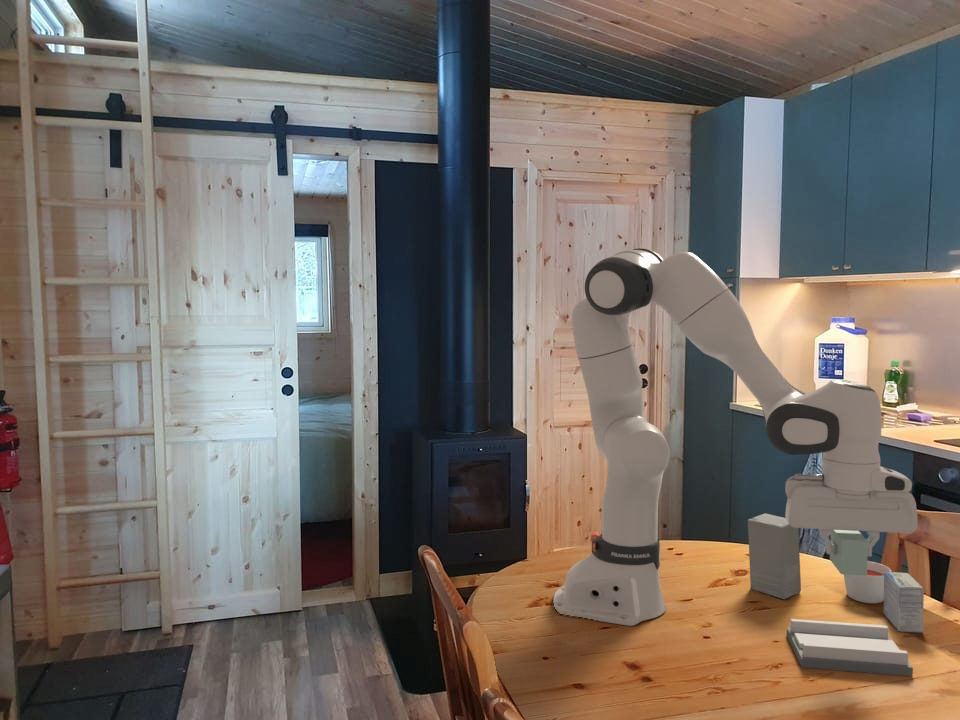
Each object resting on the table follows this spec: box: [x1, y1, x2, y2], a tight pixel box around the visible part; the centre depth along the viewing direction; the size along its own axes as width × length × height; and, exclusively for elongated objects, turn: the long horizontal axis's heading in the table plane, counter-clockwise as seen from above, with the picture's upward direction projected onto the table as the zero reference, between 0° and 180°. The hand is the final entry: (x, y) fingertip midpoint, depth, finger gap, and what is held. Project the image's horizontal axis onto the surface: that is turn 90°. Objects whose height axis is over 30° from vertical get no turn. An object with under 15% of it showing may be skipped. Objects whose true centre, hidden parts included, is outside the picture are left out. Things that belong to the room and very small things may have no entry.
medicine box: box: [883, 571, 925, 634], centre depth 138 cm, size 8×4×9 cm, turn 168°
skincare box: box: [747, 512, 802, 600], centre depth 153 cm, size 8×7×16 cm
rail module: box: [829, 530, 869, 576], centre depth 125 cm, size 4×7×6 cm, turn 168°
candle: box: [843, 560, 892, 604], centre depth 150 cm, size 9×9×6 cm
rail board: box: [786, 618, 914, 677], centre depth 126 cm, size 17×12×4 cm
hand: (848, 554), depth 125 cm, fingers closed on rail module, 4 cm apart
